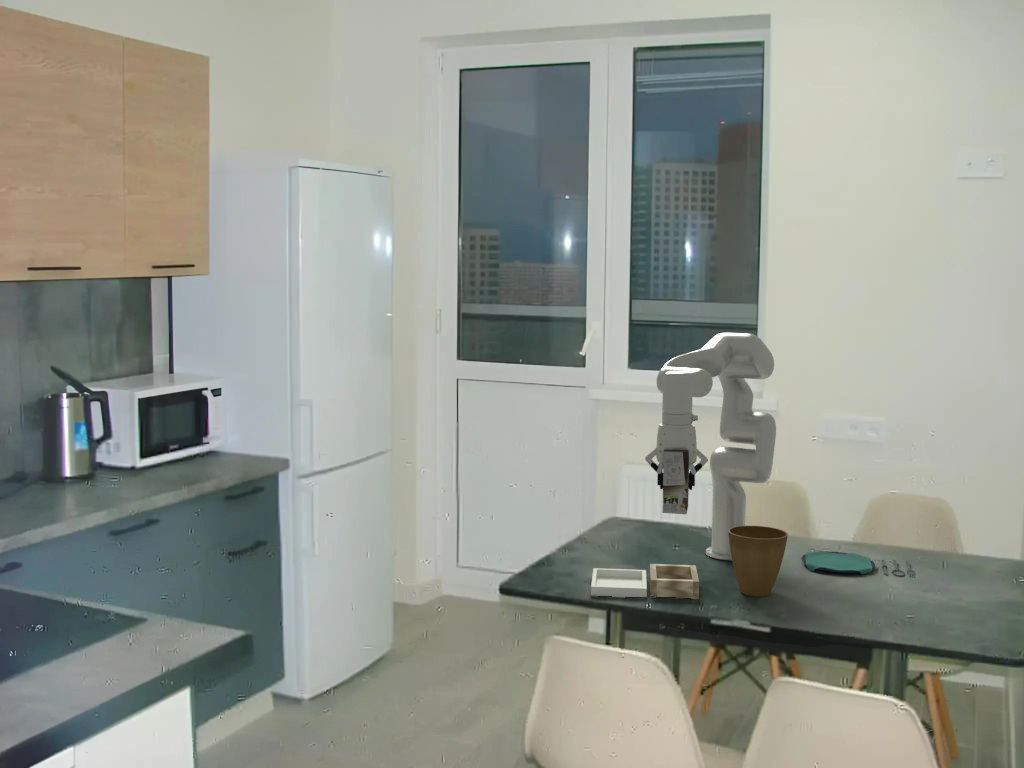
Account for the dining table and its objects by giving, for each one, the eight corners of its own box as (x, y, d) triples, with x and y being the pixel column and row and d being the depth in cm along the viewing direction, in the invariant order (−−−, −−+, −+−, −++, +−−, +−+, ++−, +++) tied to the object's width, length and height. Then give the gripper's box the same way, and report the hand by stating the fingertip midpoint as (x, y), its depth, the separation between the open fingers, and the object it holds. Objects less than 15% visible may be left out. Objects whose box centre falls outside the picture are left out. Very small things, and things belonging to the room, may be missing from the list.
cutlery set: (800, 555, 312) (801, 547, 312) (910, 564, 304) (910, 556, 304) (800, 574, 293) (801, 566, 293) (917, 584, 285) (917, 576, 285)
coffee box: (687, 514, 270) (688, 451, 268) (661, 513, 271) (662, 450, 269) (688, 506, 279) (690, 445, 277) (664, 505, 280) (665, 444, 278)
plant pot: (783, 603, 265) (785, 540, 264) (723, 597, 270) (724, 535, 268) (788, 587, 279) (790, 527, 278) (730, 581, 284) (731, 522, 282)
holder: (695, 581, 284) (695, 565, 283) (698, 599, 269) (699, 581, 268) (649, 580, 285) (649, 563, 284) (650, 597, 270) (650, 579, 270)
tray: (645, 579, 286) (645, 569, 286) (646, 598, 269) (646, 588, 269) (593, 577, 288) (593, 568, 287) (590, 596, 271) (591, 586, 271)
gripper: (710, 418, 275) (709, 486, 277) (642, 417, 277) (641, 484, 279) (712, 422, 268) (711, 492, 270) (642, 421, 270) (642, 490, 272)
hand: (675, 488), depth 274 cm, fingers closed on coffee box, 6 cm apart
